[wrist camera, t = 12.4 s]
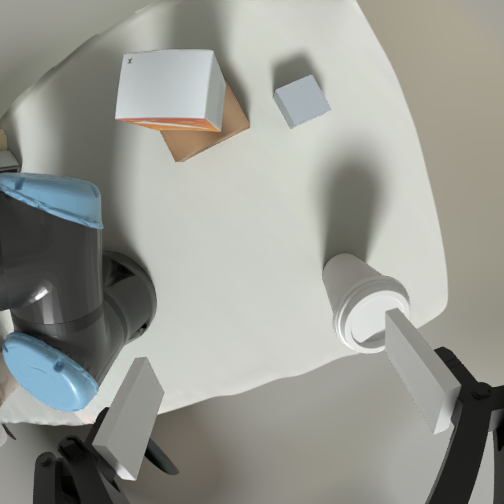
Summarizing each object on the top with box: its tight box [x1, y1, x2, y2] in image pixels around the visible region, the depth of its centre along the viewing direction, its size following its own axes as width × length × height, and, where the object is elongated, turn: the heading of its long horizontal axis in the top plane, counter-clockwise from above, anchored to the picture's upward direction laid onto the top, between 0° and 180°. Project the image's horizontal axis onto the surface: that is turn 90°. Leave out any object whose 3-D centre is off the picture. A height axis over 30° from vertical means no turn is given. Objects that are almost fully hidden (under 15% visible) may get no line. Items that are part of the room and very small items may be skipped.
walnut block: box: [160, 74, 250, 162], centre depth 36 cm, size 10×10×5 cm
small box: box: [115, 49, 226, 132], centre depth 27 cm, size 8×6×13 cm
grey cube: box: [273, 74, 331, 129], centre depth 35 cm, size 5×5×5 cm
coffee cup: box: [323, 253, 410, 353], centre depth 37 cm, size 10×10×15 cm
